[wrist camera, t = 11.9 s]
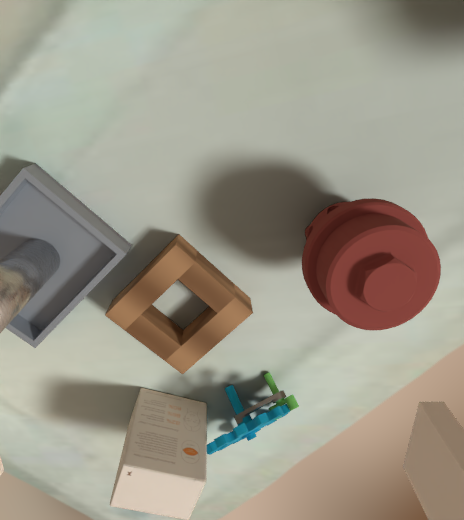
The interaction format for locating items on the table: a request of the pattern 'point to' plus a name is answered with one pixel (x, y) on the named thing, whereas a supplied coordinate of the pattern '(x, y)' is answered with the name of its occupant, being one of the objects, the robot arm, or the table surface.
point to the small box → (163, 456)
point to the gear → (250, 426)
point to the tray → (65, 242)
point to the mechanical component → (370, 263)
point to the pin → (24, 276)
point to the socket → (161, 327)
